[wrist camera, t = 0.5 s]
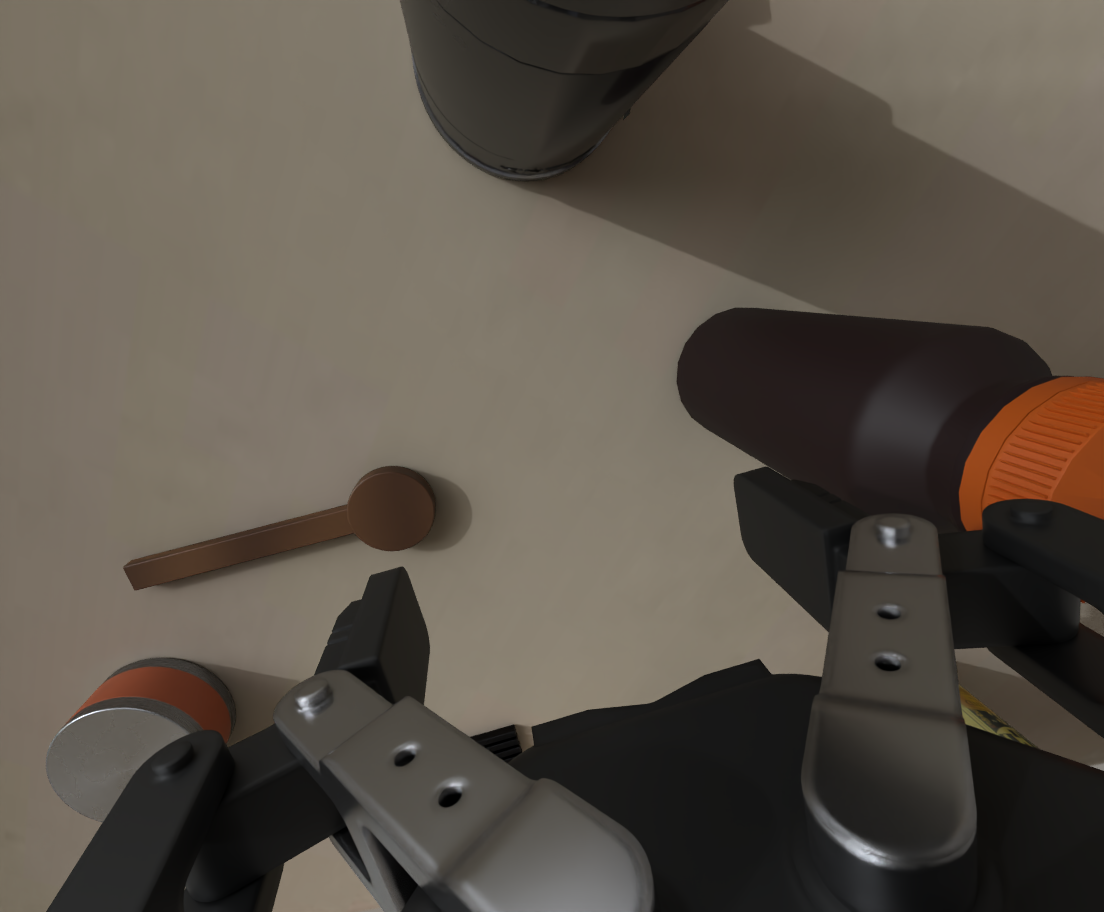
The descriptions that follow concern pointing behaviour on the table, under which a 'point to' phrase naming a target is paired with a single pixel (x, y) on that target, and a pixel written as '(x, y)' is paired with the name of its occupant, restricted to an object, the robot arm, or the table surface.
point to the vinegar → (898, 412)
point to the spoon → (309, 529)
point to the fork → (501, 742)
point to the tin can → (132, 728)
